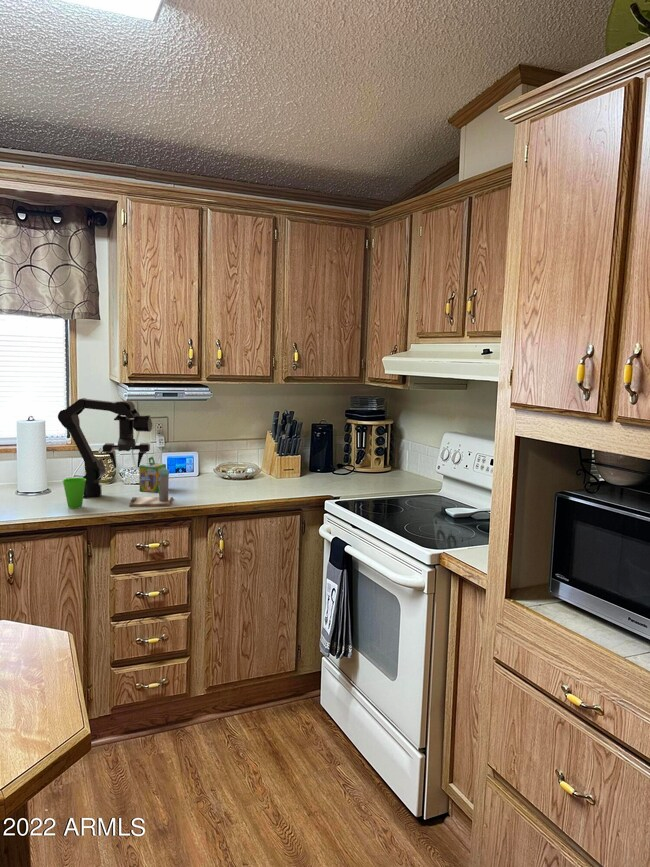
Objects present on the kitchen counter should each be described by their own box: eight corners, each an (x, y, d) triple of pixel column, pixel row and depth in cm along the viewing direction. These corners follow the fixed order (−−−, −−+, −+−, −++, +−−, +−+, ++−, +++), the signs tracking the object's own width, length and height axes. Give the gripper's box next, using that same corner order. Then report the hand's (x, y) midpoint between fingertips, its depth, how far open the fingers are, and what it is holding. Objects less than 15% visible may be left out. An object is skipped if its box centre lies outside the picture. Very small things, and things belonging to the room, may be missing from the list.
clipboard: (129, 506, 264) (129, 502, 264) (133, 499, 277) (133, 494, 277) (170, 506, 267) (169, 501, 266) (172, 498, 279) (172, 494, 279)
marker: (160, 502, 269) (160, 470, 267) (158, 499, 272) (158, 469, 270) (169, 501, 271) (170, 470, 269) (167, 499, 274) (167, 468, 272)
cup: (91, 507, 262) (90, 480, 261) (69, 510, 255) (69, 483, 254) (80, 503, 268) (79, 476, 266) (58, 506, 261) (57, 479, 260)
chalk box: (158, 492, 290) (157, 459, 288) (138, 491, 291) (138, 458, 289) (167, 488, 299) (166, 456, 297) (148, 487, 300) (148, 455, 298)
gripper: (99, 433, 266) (100, 471, 268) (146, 433, 269) (147, 471, 271) (104, 429, 277) (105, 466, 279) (150, 430, 280) (150, 466, 282)
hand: (127, 467), depth 277 cm, fingers open, 9 cm apart
